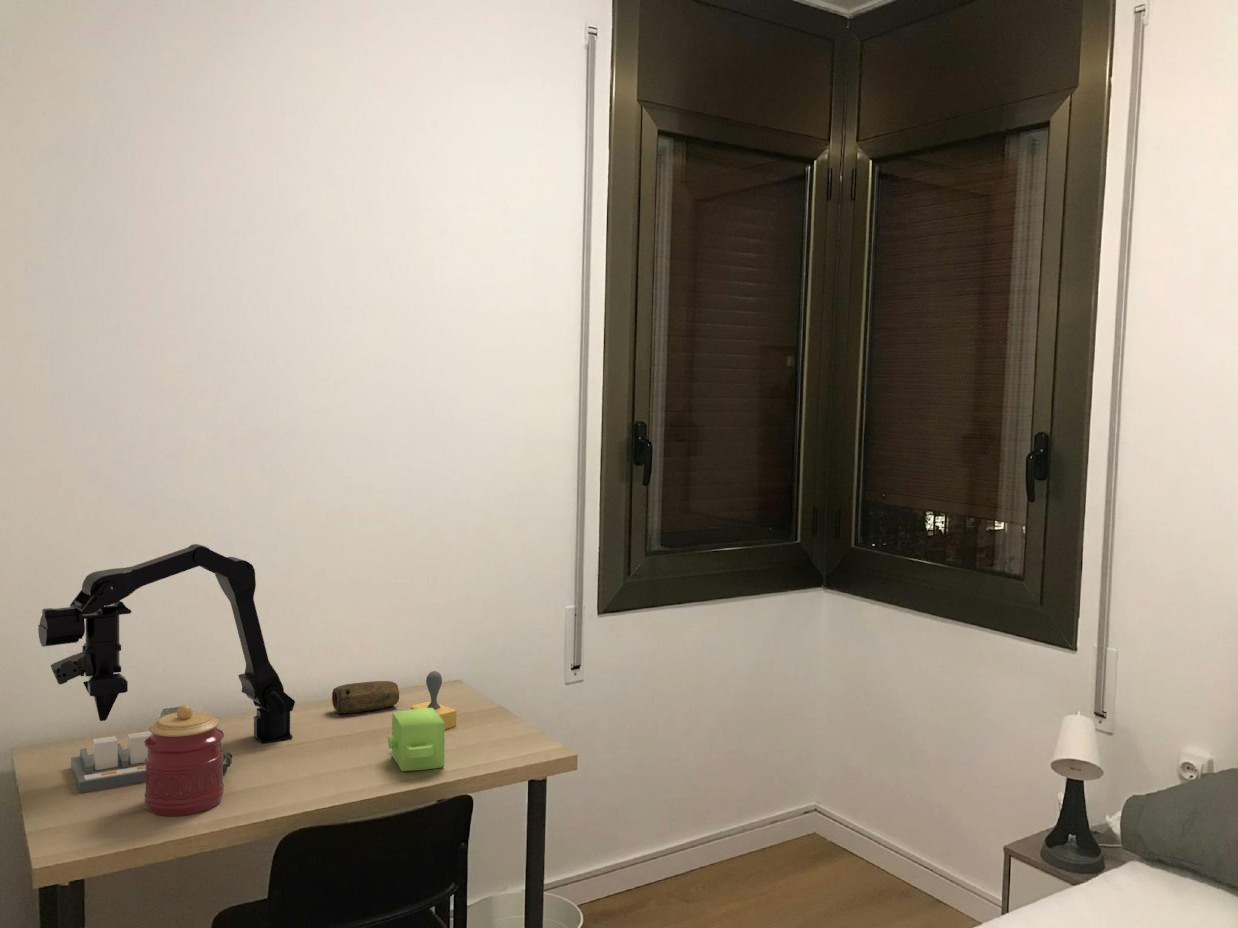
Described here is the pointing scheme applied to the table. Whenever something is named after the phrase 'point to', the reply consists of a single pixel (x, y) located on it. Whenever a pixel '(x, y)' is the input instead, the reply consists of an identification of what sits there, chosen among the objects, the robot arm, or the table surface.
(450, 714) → the rubber stamp
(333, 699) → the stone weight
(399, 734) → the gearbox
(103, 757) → the tab
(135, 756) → the tab
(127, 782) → the switch panel
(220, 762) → the canister
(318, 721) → the table surface
